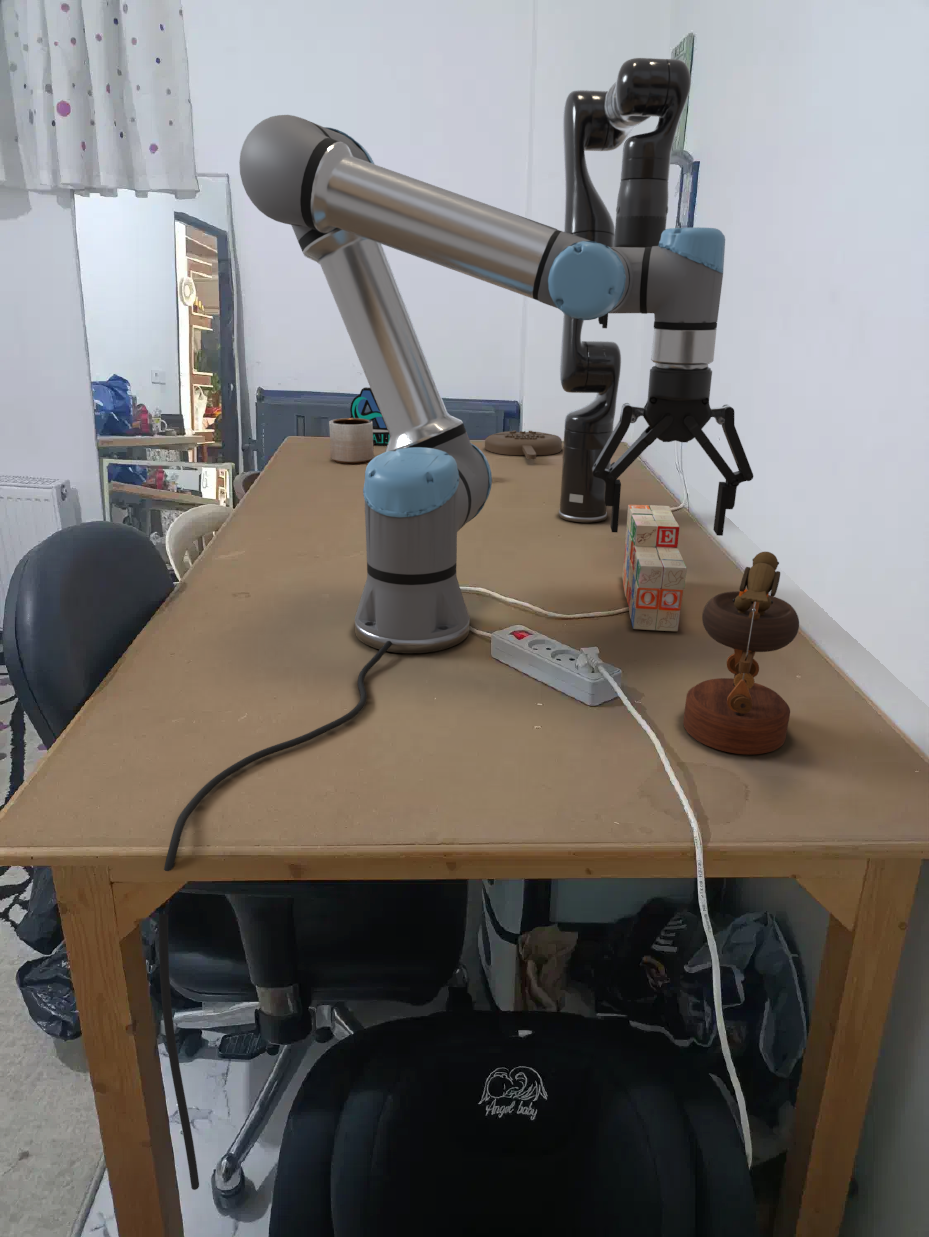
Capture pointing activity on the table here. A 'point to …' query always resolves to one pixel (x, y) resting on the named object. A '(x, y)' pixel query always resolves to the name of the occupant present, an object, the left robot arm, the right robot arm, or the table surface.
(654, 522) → the stack of blocks
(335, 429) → the planter
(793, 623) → the music box
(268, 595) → the table surface
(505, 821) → the table surface
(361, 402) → the decorative sign
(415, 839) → the table surface
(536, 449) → the ice cream bar
